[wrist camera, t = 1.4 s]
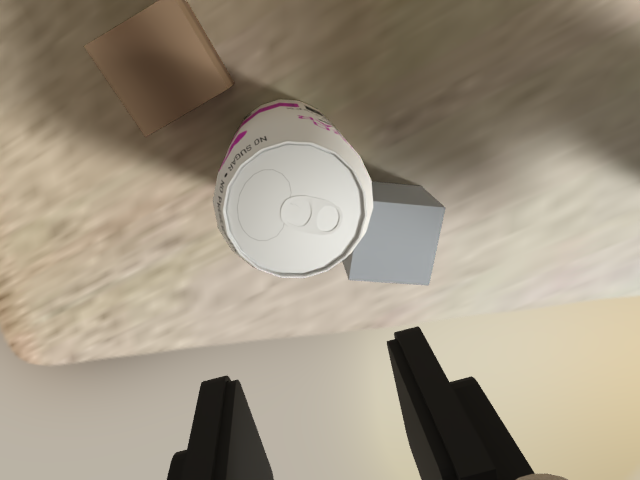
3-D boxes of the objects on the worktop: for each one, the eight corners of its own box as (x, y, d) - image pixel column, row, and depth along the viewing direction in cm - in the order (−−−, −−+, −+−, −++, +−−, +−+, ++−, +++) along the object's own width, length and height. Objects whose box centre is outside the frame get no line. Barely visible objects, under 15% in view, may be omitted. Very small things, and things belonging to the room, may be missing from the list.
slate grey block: (421, 185, 40) (445, 207, 34) (407, 254, 42) (428, 285, 37) (348, 178, 39) (360, 200, 34) (338, 249, 41) (348, 280, 36)
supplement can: (224, 193, 39) (198, 274, 25) (243, 86, 36) (227, 108, 22) (324, 214, 40) (354, 301, 26) (351, 112, 37) (399, 148, 23)
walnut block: (187, 2, 34) (171, -8, 28) (234, 83, 36) (228, 89, 30) (113, 47, 34) (83, 46, 29) (164, 124, 37) (145, 137, 31)
